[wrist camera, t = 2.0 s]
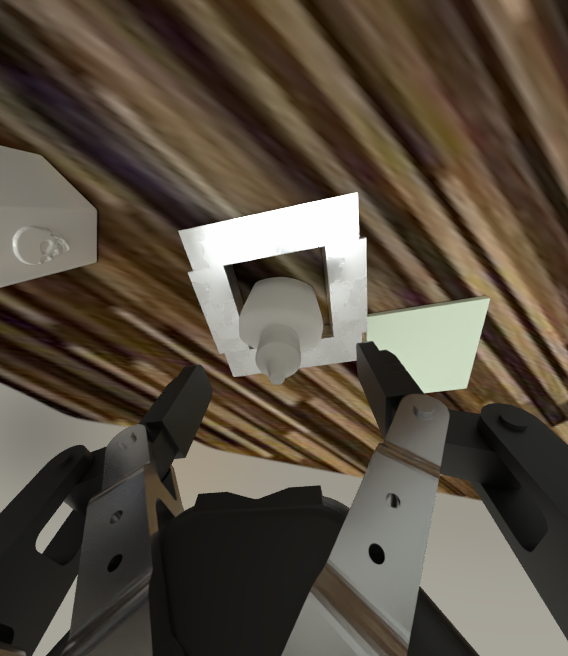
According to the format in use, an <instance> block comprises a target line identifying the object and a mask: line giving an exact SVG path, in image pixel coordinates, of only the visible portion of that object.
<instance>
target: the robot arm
mask: <svg viewBox="0 0 568 656" xmlns="http://www.w3.org/2000/svg"><path fill="white" fill-rule="evenodd" d="M356 356H357V372H358V377H359V380H360V383H361V385H362V388H363V390H364V393H365V395H366V397H367V400H368V402H369V405H370V407H371V410H372V412H373V414H374V417H375V419H376V422H377V424H378V427H379V429H380V431H381V434H382V436H383V439H384V442H383V444H382V443H379V444H378V446H377V447H376V449H375V452H374V454H373V456H372V459H371V461H370V463H369V466H368V468H367V470H366V473H365V475H364V477H363V480H362V482H361V484H360V487H359V489H358V492H357V494H356V496H355V498H354V500H353V503H352V505H351V507H350V509H349V508H348V507H347V506H345V505H344V504H342V503H340V502H338V501H336V500H333V499H331V498H328V497H324V496H322V491H321V486H305V487H291V488H287V489H284V490H281V491H279V492H276V493H273V494H271V495H268V496H265V497H262V498H260V499H252V498H247V497H244V496H240V495H237V494H233V493H229V492H221V493H220V492H219V493H207V494H206V493H205V494H198V497H197V500H196V503H195V506H193V507H191V508H189V509H187V510H185V511H184V509H183V506H182V502H181V498H180V493H179V489H178V485H177V481H176V476H175V472H174V468H173V466H172V465H171V464H172V462H173V460H174V459H179V458H185V457H186V455H187V453H188V451H189V448H190V446H191V444H192V442H193V439H194V437H195V435H196V432H197V430H198V428H199V426H200V423H201V421H202V419H203V417H204V414H205V412H206V410H207V407H208V405H209V403H210V401H211V398H212V387H211V385H210V382H209V380H208V378H207V375H206V373H205V371H204V369H203V367H202V366H201V365H193V366H186V367H184V368H183V370H182V371H181V373H180V374H179V375H178V377H176V378H175V379H174V380H173V381H171V382H170V383H169V384H168V385H167V386H166V388H165V389H164V390H163V392H162V394H160V396H159V397H158V399H157V401H155V403H154V404H153V405H152V407H151V408H150V409H149V411H148V412H147V413H146V415H145V416H144V418H143V419H142V420H141V422H140V423H139V424H138V425H133V426H130V427H128V428H126V429H124V430H123V431H121V432H120V433H119V434H117V435H116V436H115V437H114V438H113V439H112V440H111V441H110V443H109V444H108V446H107V447H104V448H101V449H99V450H96V451H93V452H89V451H88V450H87V448H86V447H85V446H83V445H77V446H73V447H70V448H68V449H66V450H64V451H63V452H61V453H59V454H58V455H57V456H55V457H54V458H53V459H51V460H50V461H49V462H48V463H47V464H46V465H45V466H44V467H43V468H42V469H41V470H40V471H39V473H38V474H37V475H36V476H35V477H34V478H33V479H32V480H31V481H30V482H29V484H27V485H26V486H25V488H24V489H23V490H22V491H21V492H20V493H19V494H18V495H17V496H16V497H15V498H14V499H13V500H12V501H11V502H10V503H9V504H8V506H7V507H6V508H5V509H4V510H3V511H2V512H1V513H0V656H32V655H33V653H34V651H35V649H36V647H37V646H38V644H39V642H40V640H41V638H42V637H43V635H44V633H45V631H46V630H47V628H48V626H49V624H50V622H51V620H52V619H53V617H54V615H55V613H56V612H57V610H58V608H59V606H60V605H61V603H62V601H63V599H64V597H65V596H66V594H67V592H68V590H69V589H70V587H71V585H72V583H73V581H74V580H75V578H76V576H77V574H78V577H77V585H76V592H75V599H74V606H73V613H72V620H71V627H70V630H69V631H68V632H67V633H66V634H65V635H64V637H63V638H62V639H61V640H60V641H59V642H58V643H57V644H56V645H55V646H54V647H53V649H52V650H51V651H50V652H49V653H48V654H47V655H46V656H479V655H478V654H477V652H476V651H475V650H474V649H473V648H472V646H471V645H470V644H469V643H468V642H467V641H466V640H465V638H464V637H463V636H462V635H461V634H460V632H459V631H458V630H457V629H456V628H455V627H454V626H453V624H452V623H451V622H450V621H449V620H448V619H447V617H446V616H445V615H444V614H443V613H442V611H441V610H440V609H439V608H438V607H437V606H436V604H435V603H434V602H433V601H432V600H431V599H430V597H429V596H428V595H427V594H426V593H425V592H424V590H423V589H422V588H421V587H420V586H419V585H420V580H421V574H422V569H423V563H424V558H425V552H426V547H427V541H428V536H429V530H430V525H431V518H432V513H433V508H434V503H435V497H436V492H437V486H438V481H439V475H440V474H444V475H448V476H452V477H456V478H460V479H464V480H469V481H470V482H471V483H472V485H473V486H474V488H475V490H476V491H477V493H478V495H479V496H480V498H481V500H482V501H483V503H484V504H485V506H486V508H487V509H488V511H489V513H490V514H491V516H492V518H493V519H494V521H495V522H496V524H497V526H498V527H499V529H500V530H501V532H502V534H503V535H504V537H505V539H506V540H507V542H508V544H509V545H510V547H511V549H512V550H513V552H514V553H515V555H516V557H517V558H518V560H519V562H520V563H521V565H522V567H523V568H524V570H525V571H526V573H527V575H528V576H529V578H530V580H531V581H532V583H533V585H534V586H535V588H536V589H537V591H538V593H539V594H540V596H541V598H542V599H543V601H544V603H545V604H546V605H547V607H548V609H549V611H550V612H551V614H552V616H553V617H554V619H555V620H556V622H557V624H558V625H559V627H560V629H561V630H562V632H563V634H564V635H565V637H566V638H567V640H568V445H567V444H566V443H565V442H564V441H563V440H562V439H561V438H559V437H558V436H557V435H556V434H555V433H554V432H553V431H552V430H550V429H549V428H548V427H547V426H546V425H545V424H544V423H543V422H541V421H540V420H539V419H538V418H537V417H535V416H534V415H532V414H530V413H529V412H527V411H525V410H522V409H520V408H517V407H515V406H511V405H507V404H500V403H494V404H488V405H486V406H484V407H483V408H482V410H481V412H480V414H476V413H469V412H462V411H455V410H450V409H447V408H446V407H445V405H444V404H443V403H441V402H440V401H439V400H437V399H435V398H433V397H431V396H428V395H425V394H424V393H423V391H422V390H421V389H420V387H419V386H418V385H417V383H416V382H415V381H414V379H413V378H412V377H411V375H410V374H409V372H408V371H406V368H405V367H404V366H403V364H401V362H400V360H399V359H398V358H397V356H396V355H394V354H393V353H391V352H389V351H388V350H379V349H378V348H377V346H376V345H375V343H374V342H373V341H368V342H361V343H357V344H356ZM63 501H64V502H65V503H66V504H68V505H69V506H70V507H71V508H72V509H73V511H72V512H71V513H70V515H69V516H68V518H67V519H66V521H65V522H64V523H63V525H62V526H61V528H60V529H59V531H58V532H57V533H56V535H55V536H54V538H53V539H52V541H51V542H50V543H49V545H48V546H47V548H46V549H45V551H44V552H43V553H42V554H41V553H39V552H38V551H37V550H36V547H35V544H36V540H37V537H38V535H39V533H40V532H41V530H42V529H43V528H44V526H45V525H46V524H47V522H48V521H49V520H50V518H51V517H52V516H53V514H54V513H55V512H56V510H57V509H58V508H59V506H60V505H61V504H62V503H63Z"/></svg>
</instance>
